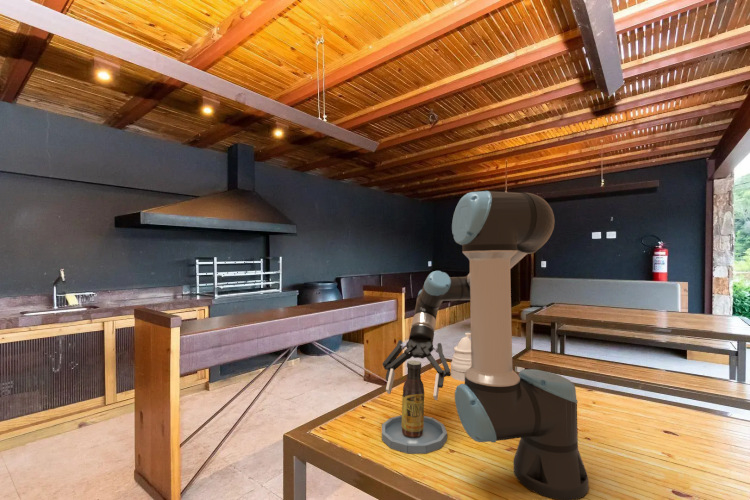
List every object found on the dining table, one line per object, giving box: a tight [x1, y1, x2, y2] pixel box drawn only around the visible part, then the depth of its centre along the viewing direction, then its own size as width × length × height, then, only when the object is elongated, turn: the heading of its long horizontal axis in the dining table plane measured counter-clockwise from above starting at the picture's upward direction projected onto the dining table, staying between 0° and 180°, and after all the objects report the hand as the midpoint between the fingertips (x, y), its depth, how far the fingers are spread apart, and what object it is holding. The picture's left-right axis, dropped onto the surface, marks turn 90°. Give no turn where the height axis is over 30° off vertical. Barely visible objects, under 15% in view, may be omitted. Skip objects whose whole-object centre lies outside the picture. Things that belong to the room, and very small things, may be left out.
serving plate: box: [381, 414, 448, 455], centre depth 98 cm, size 18×18×2 cm
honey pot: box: [450, 332, 471, 382], centre depth 147 cm, size 13×13×18 cm
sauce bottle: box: [401, 360, 425, 437], centre depth 98 cm, size 6×6×20 cm
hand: (411, 395), depth 97 cm, fingers open, 13 cm apart
